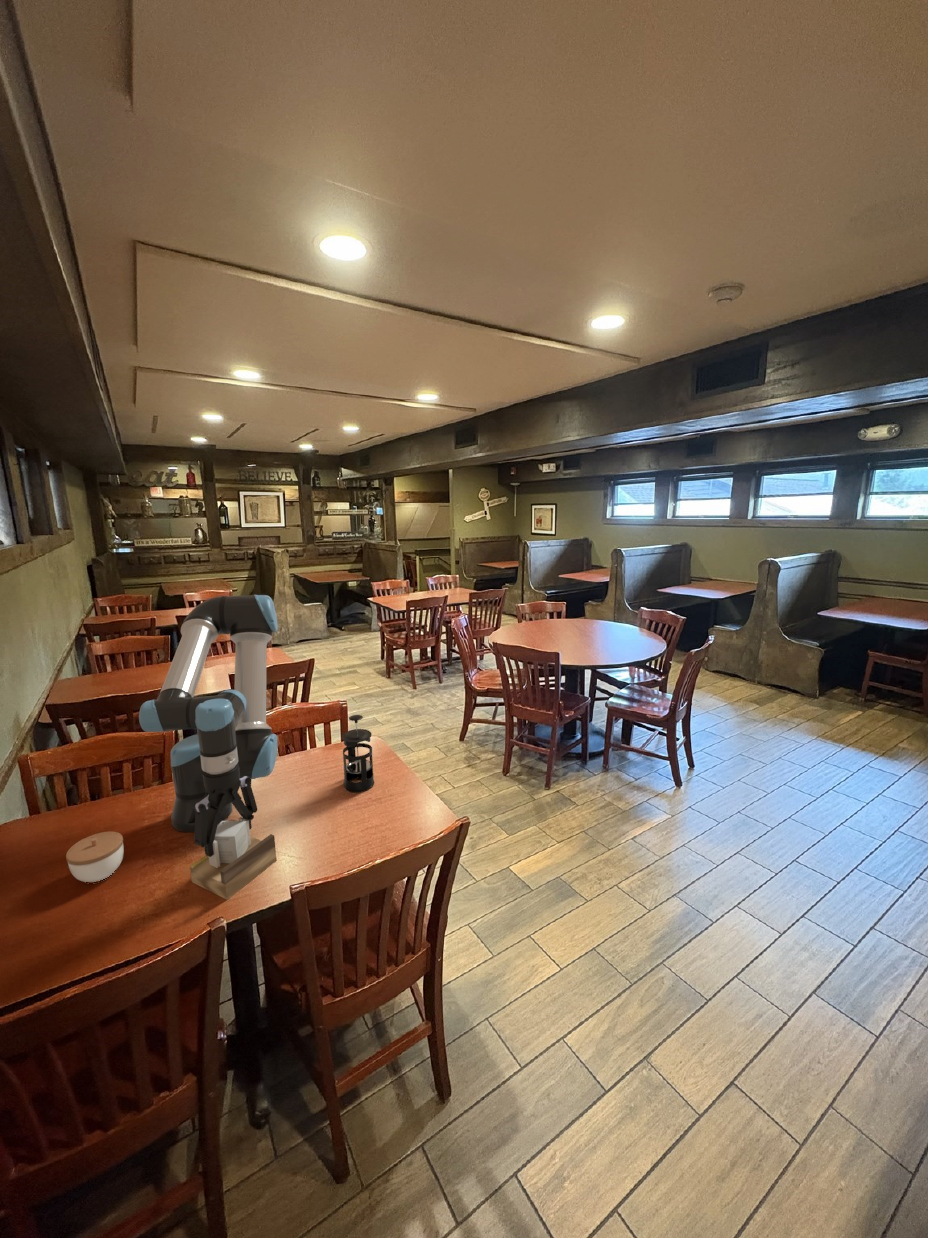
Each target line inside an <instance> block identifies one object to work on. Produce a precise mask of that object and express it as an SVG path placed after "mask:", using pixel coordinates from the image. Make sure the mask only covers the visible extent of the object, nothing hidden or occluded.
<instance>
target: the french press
mask: <svg viewBox="0 0 928 1238" xmlns="http://www.w3.org/2000/svg"><path fill="white" fill-rule="evenodd" d="M362 719H364V717H363V716H362V714H354V715H351V716H349V717H348V720H349V721H351V722H354V724H355V729H350V730H347V731H345V732H344V733H343V734H342V735H341V738H342V739H341V740H343V744H344V748H343V750H342V758H343V759H342V760H343V762H342V763H343V775H344V777H343V778H344V784H343V788H344V790H346V791H348V792H350V793H353V794H354V793H355V794H357V793H364V792H367V791H369V790H371V789H372V788H373V787H374V786H375V779H374V765H373V764H374V763H373V747H372V746H371V745H370V744H368V743H370V742H371V737H372V735H373V734H372V732H371V731H370V730H368V729H364V728H358V722H359V721H360V720H362ZM364 742H368V743H364ZM359 748H366V749H368V751H369V752H367V753H365V754H363V755H359ZM346 752H347V754H346ZM356 752H357V754H356ZM368 758H369V760H368ZM347 760H348V762H347ZM357 779H361V781H355V782H354V781H353V780H357Z"/></svg>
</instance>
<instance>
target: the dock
mask: <svg viewBox="0 0 928 1238" xmlns="http://www.w3.org/2000/svg"><path fill="white" fill-rule="evenodd" d="M250 838H251V845H249V846H248V848H247V850H246V851H245V853H244V854H243V855H241V856H240V857H239V858H237V859H236V860H235V861H233V862H232V863H220V867H218V868H216V867H214V866H212V865H210V864H209V856H207V855H206V854H205V855H203V857H201V858H200V859H198V860H197V861H195V862H194V863H192V864H191V865H189V870H190V878H191V882H192V883H193V884H194V885H197V886H199V887H201V888H202V889H205V890H207V891H209V892H211V893H213V894H215V895H216V896H218V897H220V898H223V899H225V900H227V901H228V900H229V899H230V898H232V897H233V896H234V895H236V894H237V893H238V892H239V891H241V890H242V889H243V888H244V887H246V885H248V884H249V883H250V882H252V881H253V880H254V879H256V878H257V877H258V876H259V875H261V873H263V872H264V871H266V870H267V869H268V868H270V866H272V865H273V864H275V862H276V861H277V851H276V849H277V848H276V838H275V835H274V834H271V833H270V834H268V835H267V836H265V837H264V838H263V839H258V838H256V837H253V836H251V835H250Z"/></svg>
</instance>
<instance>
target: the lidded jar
mask: <svg viewBox="0 0 928 1238" xmlns="http://www.w3.org/2000/svg"><path fill="white" fill-rule="evenodd" d="M124 848H125V847H124V837H123V834H122V833H119V832H118V831H103V832H98V833H94V834H91V835H89V836H87V837H85V838H82V839H80V840H78V842H75V844H73V845H72V846H71V847H70V848H69V849H68V850H67V852H66V855H65V860H66V863H67V864H68V869H69V872H70V873H71V875H72V876H73V877H74V878H75V879H76V880H78V881H81V882H84V883H86V882H96V881H100V880H103V879H105V878H107V877H109V876H110V875H112V873H114V874H115V872H116V871H115V870H118V868H119V867H120V865H121V863H122V861H123V859H124V851H125V849H124ZM114 871H115V872H114ZM112 876H113V875H112ZM110 877H111V876H110ZM110 877H109V878H110ZM107 879H108V878H107ZM105 880H106V879H105ZM103 881H104V880H103Z"/></svg>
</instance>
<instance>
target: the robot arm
mask: <svg viewBox="0 0 928 1238" xmlns="http://www.w3.org/2000/svg"><path fill="white" fill-rule="evenodd" d="M274 603H275V602H274V601H273V599H272V597H270V596H269V595H266V594H253V595H251V594H250V595H249V594H248V595H226V596H225V595H218V596H214V597H211V598H208V599H206V600H204V601H202V602H201V603H199V604H198V605H197V606H195V607H194V608H193V609H191V610H190V612H189V613H188V615H187V616H186V617H185V618H184V620H183V622H182V624H181V627H180V634H181V638H180V641H179V643H178V646H177V648H176V651H175V653H174V656H173V659H172V661H171V664H170V667H168V668H169V669H168V672H167V674H166V675H165V679H164V682H163V684H162V687H161V689H160V692H159V695H158V696H157V699H151V700H147V701H145V702H143V703H142V704H141V706H140V708H139V713H138V721H139V725H140V727H141V729H142V731H144V732H146V733H165V732H173V731H184V730H196V731H197V733H196V734H193V735H191V736H187V737H185V738H184V739H181V740H180V741H178V742H177V743H175V744H174V746H172V748H171V750H170V767H171V773H172V780H173V785H174V786H173V787H174V794H175V799H174V804H173V809H172V812H171V817H170V818H171V819H170V820H171V825H172V827H173V829H174V830H177V831H178V832H182V833H194V834H193V835H194V838H193V839H194V840H193V843H194V844H195V845H197V846H199V847H201V848H203V849H204V854H205V855H207V856H209V864H210V865H212V866H214V867H216V868H218V867H220V859H219V851H218V843H217V841H215V840H214V838H215V834H216V830H217V826H218V825H219V824H220V822H221V821H226V819H228V817H229V816H230V815H231V814H232V811H233V807H234V808H235V809H236V811H237V813H238V814H239V815H240V816H241V817H239V818H238V820H237V821H246V826H247V836H248V846H249V845H251V838H250V836H251V831H250V830H252V820H253V819H254V818H255V815H253V814H255V813H257V812H258V807H257V802H256V799H255V796H254V792H253V791H254V790H253V789H252V780H256V779H260V778H261V779H262V778H266V777H268V776H270V775H271V774H272V773H273V772H274V768H275V765H276V762H277V757H278V747H279V745H278V743H279V742H278V741H279V740H278V736H277V734H275V733H272V727H271V726H269V724H267V656H268V655H267V652H268V651H267V649H268V648H267V646H268V645H267V644H268V643H269V642H271V640H272V638H273V633H277V632H278V629H279V625H278V615H277V612H276V608H275V604H274ZM221 635H230V636H229V638H230V640H231V641H232V642H233V643H234V644H235V655H234V656H235V658H234V659H235V660H234V662H235V663H234V689H226V690H224V691H222V692H220V693H218V694H217V695H208V696H195V694H196V690H197V688H198V685H199V682H200V678H201V676H202V672H203V669H204V666H205V663H206V660H207V658H208V654H209V651H210V648H211V645H212V644H213V643H214V642H215V641H216V640H217V638H218V636H221ZM239 789H240V792H241V795H242V797H241V795H240V793H239ZM242 799H243V800H242Z"/></svg>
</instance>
